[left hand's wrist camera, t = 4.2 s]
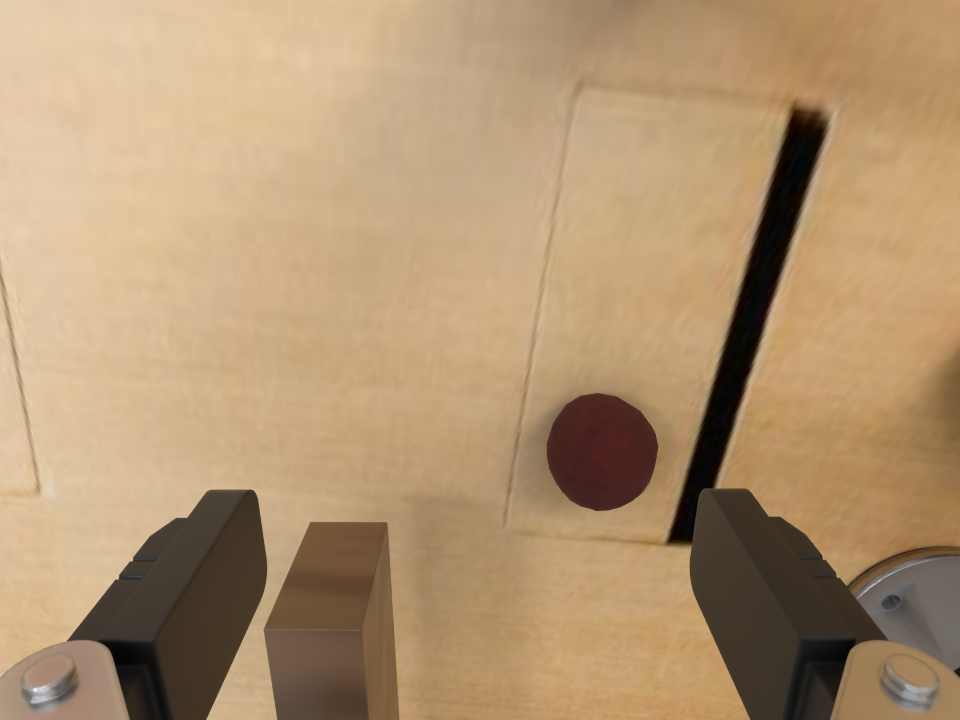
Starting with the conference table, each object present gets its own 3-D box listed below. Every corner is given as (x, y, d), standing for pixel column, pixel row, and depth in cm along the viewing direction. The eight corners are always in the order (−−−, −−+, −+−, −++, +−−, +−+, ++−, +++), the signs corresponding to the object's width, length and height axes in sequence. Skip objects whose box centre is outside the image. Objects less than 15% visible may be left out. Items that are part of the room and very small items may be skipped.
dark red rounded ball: (562, 486, 48) (575, 545, 41) (526, 398, 45) (534, 446, 38) (657, 454, 47) (686, 509, 40) (625, 362, 44) (651, 405, 38)
